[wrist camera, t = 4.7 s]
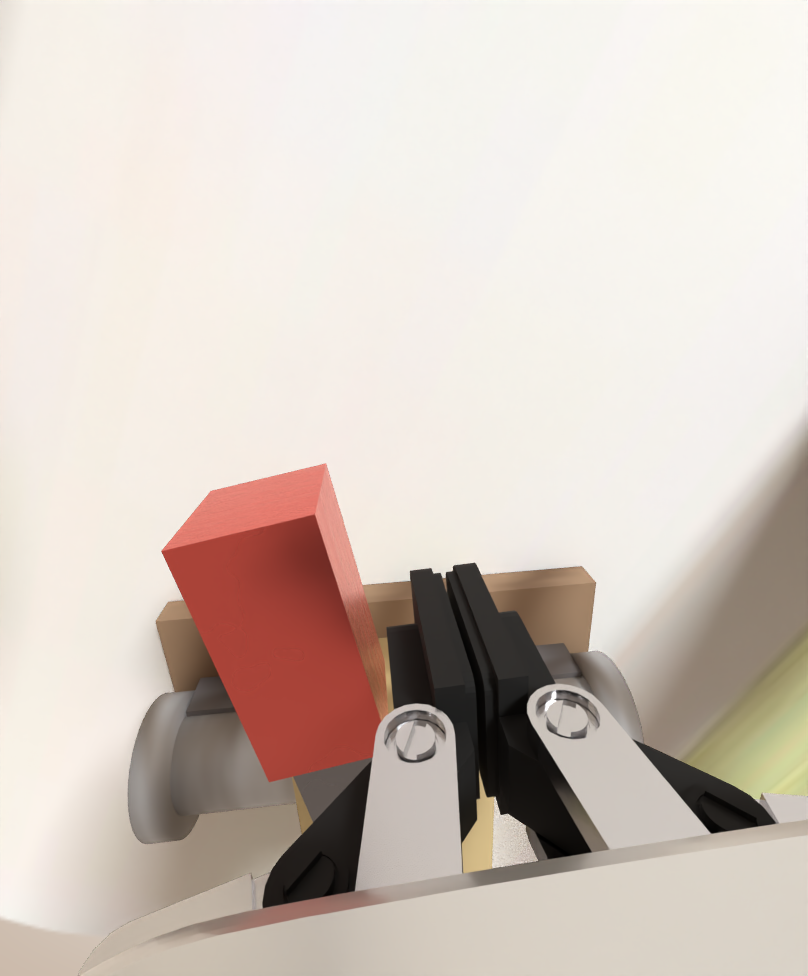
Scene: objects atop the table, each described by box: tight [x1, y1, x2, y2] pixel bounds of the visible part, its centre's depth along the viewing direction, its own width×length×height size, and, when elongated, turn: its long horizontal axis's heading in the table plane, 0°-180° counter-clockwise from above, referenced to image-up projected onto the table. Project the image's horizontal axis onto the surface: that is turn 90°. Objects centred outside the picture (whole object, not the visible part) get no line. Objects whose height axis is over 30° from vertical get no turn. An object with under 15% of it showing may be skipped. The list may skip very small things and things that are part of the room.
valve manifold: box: [128, 566, 644, 873], centre depth 21 cm, size 20×11×9 cm, turn 93°
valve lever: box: [161, 464, 388, 822], centre depth 13 cm, size 16×4×3 cm, turn 13°
